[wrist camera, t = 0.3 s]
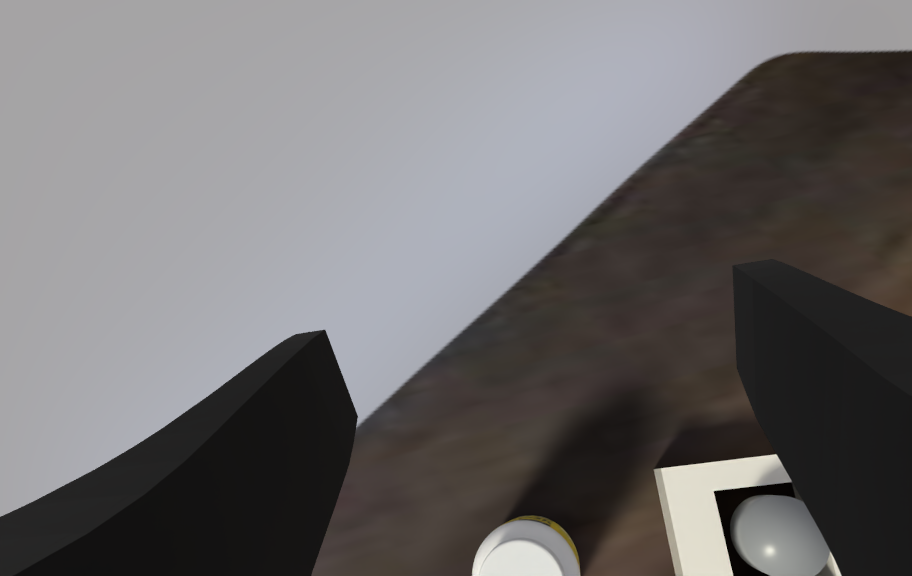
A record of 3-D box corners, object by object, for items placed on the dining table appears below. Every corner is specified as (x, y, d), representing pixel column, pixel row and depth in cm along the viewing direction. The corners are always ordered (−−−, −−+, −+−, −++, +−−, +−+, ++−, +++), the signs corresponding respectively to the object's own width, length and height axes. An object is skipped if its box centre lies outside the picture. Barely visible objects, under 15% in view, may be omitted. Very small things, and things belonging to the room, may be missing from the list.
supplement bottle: (558, 501, 38) (556, 507, 29) (593, 594, 36) (603, 632, 27) (475, 531, 38) (446, 546, 29) (506, 625, 37) (486, 673, 27)
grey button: (819, 570, 33) (841, 577, 30) (740, 577, 33) (755, 585, 31) (797, 490, 34) (816, 491, 32) (721, 499, 35) (734, 500, 32)
